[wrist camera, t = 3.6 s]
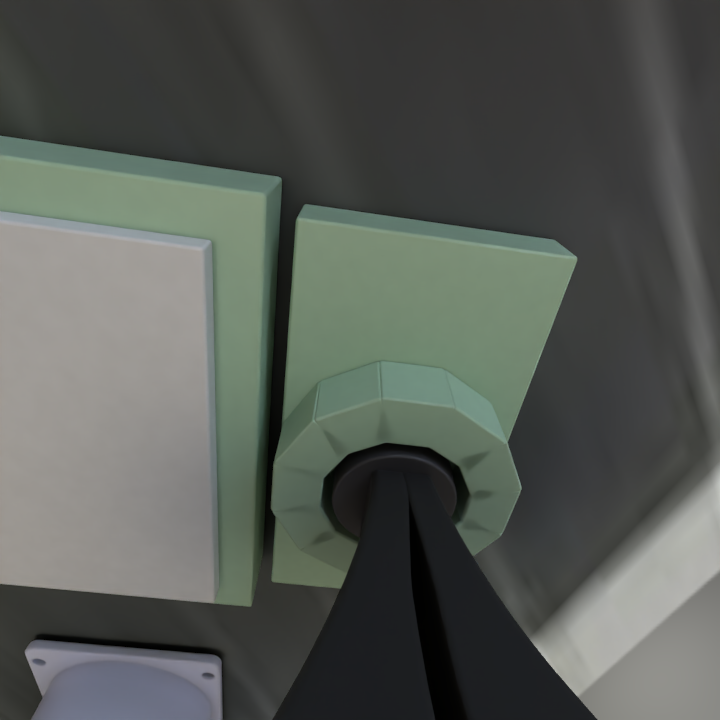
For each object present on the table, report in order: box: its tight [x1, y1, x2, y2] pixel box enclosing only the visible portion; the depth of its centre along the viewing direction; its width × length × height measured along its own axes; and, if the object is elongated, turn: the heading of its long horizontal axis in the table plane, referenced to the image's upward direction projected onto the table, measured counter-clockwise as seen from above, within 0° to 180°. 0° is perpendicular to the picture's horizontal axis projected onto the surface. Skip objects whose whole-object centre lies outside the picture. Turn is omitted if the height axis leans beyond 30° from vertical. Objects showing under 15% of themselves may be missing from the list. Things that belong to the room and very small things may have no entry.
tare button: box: [332, 443, 457, 537], centre depth 12 cm, size 3×3×2 cm
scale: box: [0, 136, 282, 607], centre depth 12 cm, size 13×13×3 cm
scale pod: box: [271, 204, 577, 589], centre depth 13 cm, size 12×6×3 cm, turn 172°
